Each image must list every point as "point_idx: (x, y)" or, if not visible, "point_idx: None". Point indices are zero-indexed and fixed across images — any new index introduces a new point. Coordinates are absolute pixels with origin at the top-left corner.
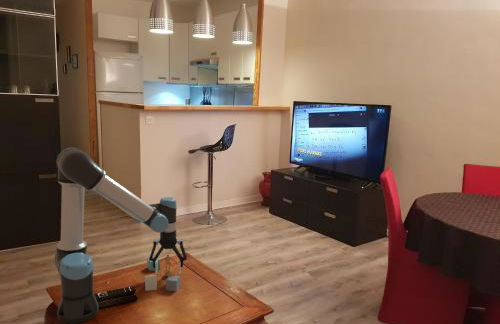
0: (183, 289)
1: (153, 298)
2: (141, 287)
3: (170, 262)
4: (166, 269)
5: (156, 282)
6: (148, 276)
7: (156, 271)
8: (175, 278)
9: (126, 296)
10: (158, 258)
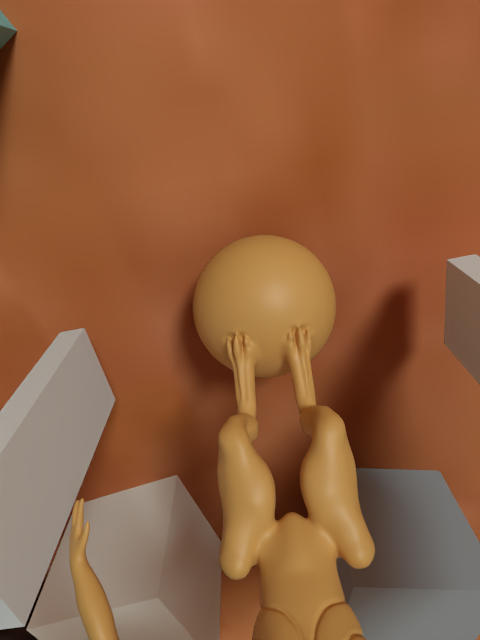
0: (477, 515)
1: (241, 629)
2: (62, 533)
3: (368, 555)
4: (236, 365)
5: (216, 626)
6: (83, 637)
7: (92, 441)
8: (443, 632)
9: (28, 632)
10: None
